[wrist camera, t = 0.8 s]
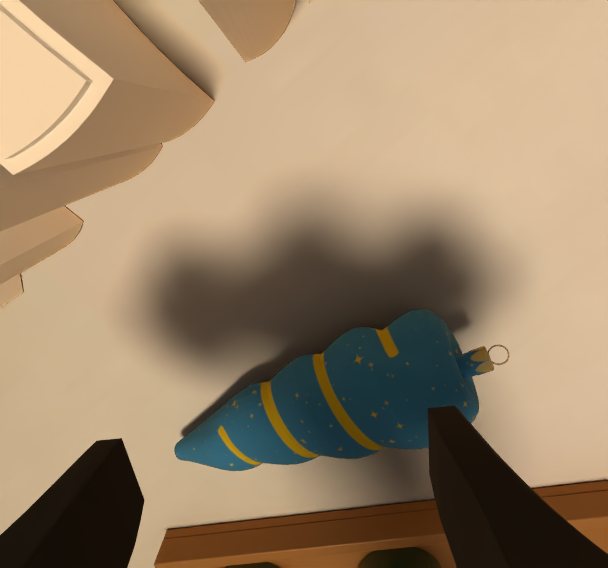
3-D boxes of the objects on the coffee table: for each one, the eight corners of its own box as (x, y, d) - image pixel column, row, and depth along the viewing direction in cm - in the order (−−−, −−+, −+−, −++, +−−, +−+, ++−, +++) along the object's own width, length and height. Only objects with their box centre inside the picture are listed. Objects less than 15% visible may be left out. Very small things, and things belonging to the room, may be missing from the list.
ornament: (183, 384, 26) (475, 269, 21) (227, 475, 26) (525, 383, 21) (119, 430, 21) (480, 295, 16) (173, 542, 21) (545, 443, 16)
